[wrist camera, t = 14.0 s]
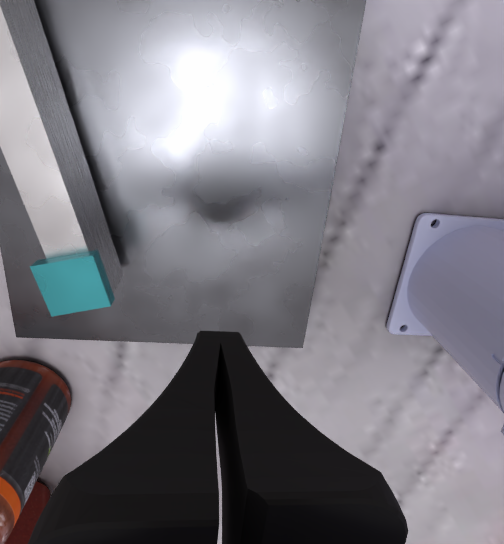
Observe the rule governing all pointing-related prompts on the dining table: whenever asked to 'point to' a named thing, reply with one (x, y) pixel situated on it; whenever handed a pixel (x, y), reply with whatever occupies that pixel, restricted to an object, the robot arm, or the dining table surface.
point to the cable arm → (52, 170)
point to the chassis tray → (196, 162)
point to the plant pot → (29, 515)
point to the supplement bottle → (26, 431)
